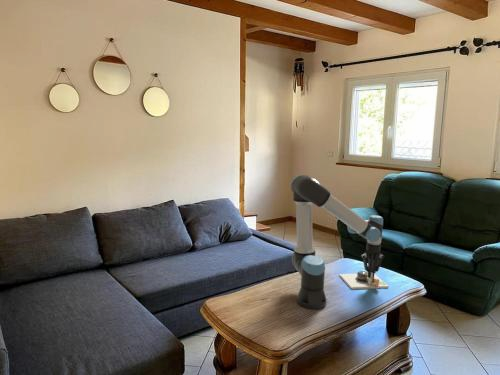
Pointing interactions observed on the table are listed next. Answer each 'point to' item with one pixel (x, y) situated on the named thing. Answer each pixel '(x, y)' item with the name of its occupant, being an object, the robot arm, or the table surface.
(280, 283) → the table surface
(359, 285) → the board
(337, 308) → the table surface
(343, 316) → the table surface
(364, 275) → the peg dial
